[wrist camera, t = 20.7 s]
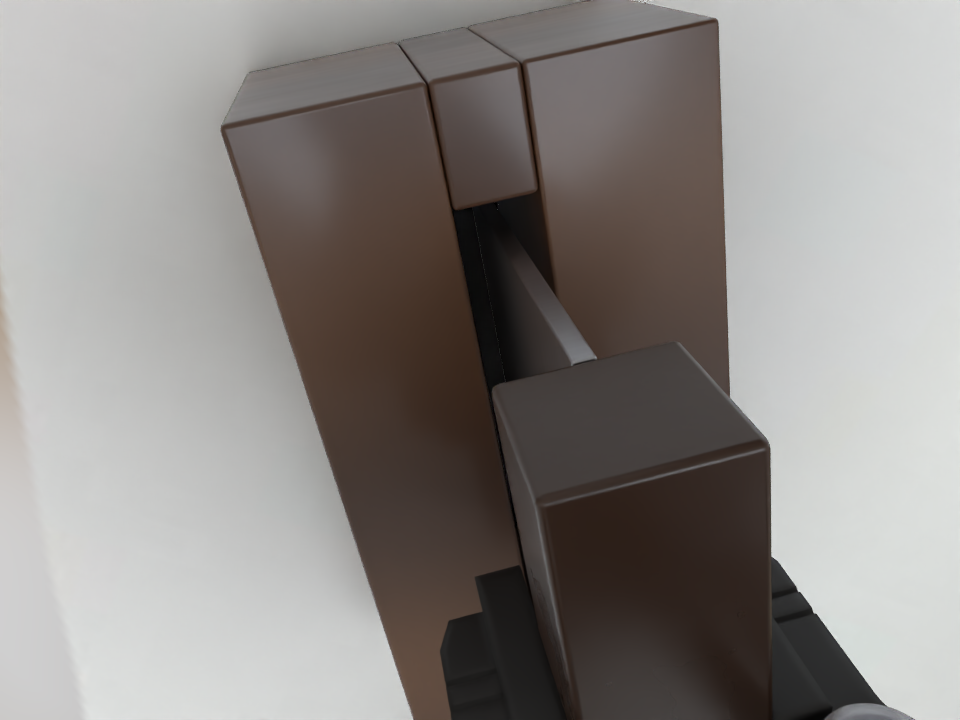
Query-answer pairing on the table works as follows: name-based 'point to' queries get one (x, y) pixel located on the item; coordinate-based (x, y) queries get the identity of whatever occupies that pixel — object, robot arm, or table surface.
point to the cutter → (631, 511)
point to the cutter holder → (439, 268)
